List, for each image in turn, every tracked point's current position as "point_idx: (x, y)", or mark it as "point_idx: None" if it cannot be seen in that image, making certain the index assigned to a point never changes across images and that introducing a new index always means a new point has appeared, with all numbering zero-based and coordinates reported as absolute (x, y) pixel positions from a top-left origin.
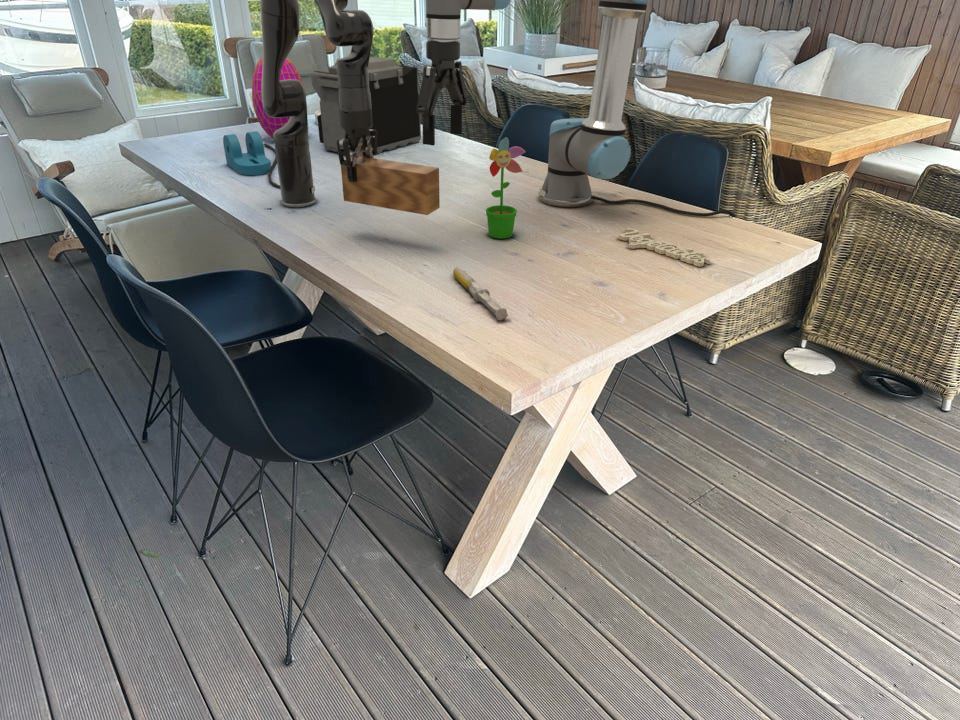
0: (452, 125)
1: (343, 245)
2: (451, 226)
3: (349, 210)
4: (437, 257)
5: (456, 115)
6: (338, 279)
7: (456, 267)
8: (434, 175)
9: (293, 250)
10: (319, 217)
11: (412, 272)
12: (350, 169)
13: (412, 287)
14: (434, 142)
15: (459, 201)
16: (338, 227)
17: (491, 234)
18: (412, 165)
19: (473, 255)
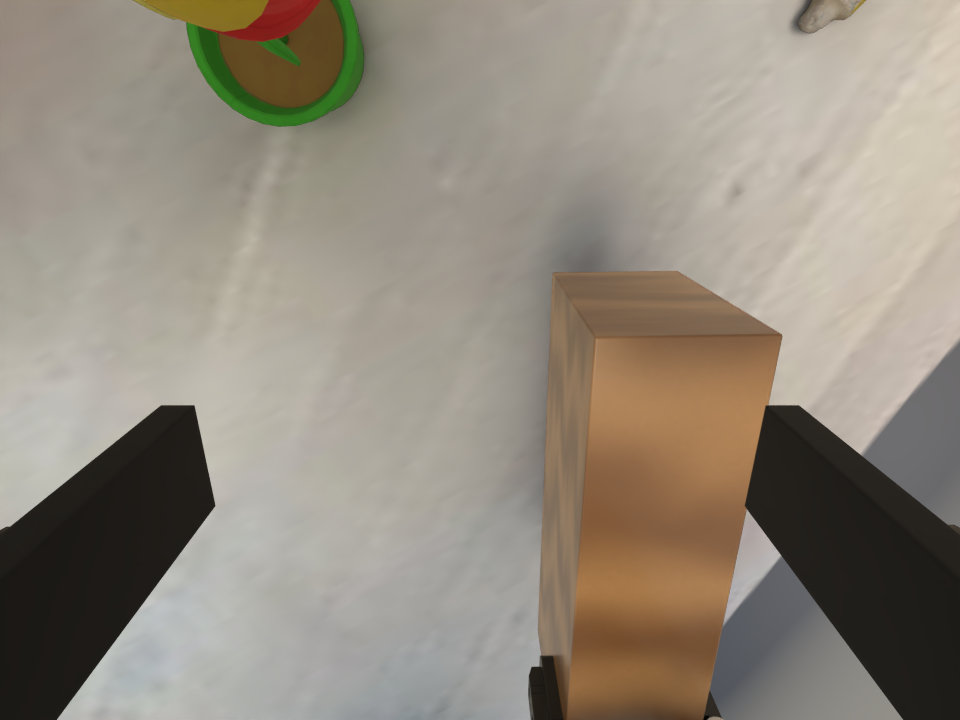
0: (167, 541)
1: None
2: (330, 299)
3: (382, 642)
4: (649, 189)
5: (72, 590)
6: (917, 379)
7: (849, 2)
8: (654, 324)
9: (742, 590)
10: (480, 671)
11: (810, 201)
12: (717, 716)
13: (938, 131)
14: (784, 416)
15: (61, 406)
16: (529, 593)
17: (360, 79)
18: (617, 501)
19: (577, 62)
